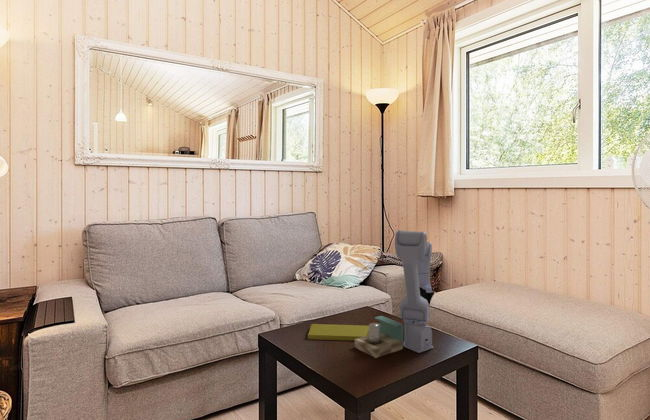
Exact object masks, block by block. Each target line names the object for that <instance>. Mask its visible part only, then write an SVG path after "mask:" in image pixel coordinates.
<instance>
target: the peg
mask: <svg viewBox="0 0 650 420" xmlns="http://www.w3.org/2000/svg"><path fill="white" fill-rule="evenodd" d="M368 326H369V343H370V344H372V345H377V344H380V322H379V323H378V322H371V323H369V324H368Z"/></svg>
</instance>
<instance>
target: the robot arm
mask: <svg viewBox="0 0 650 420" xmlns="http://www.w3.org/2000/svg"><path fill="white" fill-rule="evenodd" d="M432 245H433V244H432V243H430V241H428V235H427V233H426V231H423V230H422V231H409V230H400V229H399V230H397V231H396V232H395V235H394V247H395V250H394V251H395V254H396V258H398V259H399V260H401V264H402V269H403V276H404V284H405V292H406V293H405V294H406V295H405V296H403V297H402V299H401V300H400V302H399V303H400V306H399V316H400V318H401V320H402V322H403V323H404V330H403V348H406V349H408V350H411V351H413V352H416V353H419V354H420V353H423V352H426V351H428V350H431V349H434V346H433V330H432V328H431V326H429V325H428V324H427V323H428V322H429V320H430V314H431V307H430V305H431V301H432V298H433V296H434V295H435V292H434V291H433V290H432V289H433V288H432V285H431V283H430V282H431V261H432V254H433V252H432V251H433V246H432Z"/></svg>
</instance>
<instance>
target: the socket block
mask: <svg viewBox="0 0 650 420" xmlns="http://www.w3.org/2000/svg"><path fill="white" fill-rule="evenodd" d="M403 342H404V340H403V341H400V340H397V339H395V338H392V337H390V336H388V335H385V334H383V333H381V332H380V344H377V345H372V344H370V343H369V335H368V336H364V337H361V338H357V339H355V341H354V348H355V349H358V351H361V352H363V353H364V354H367V355H369V356H371V357H373V358H374V359H377V358H380V357H383V356H386V355H389V354H392V353H396V352H399V351H401V350H403V348H404V346H403Z"/></svg>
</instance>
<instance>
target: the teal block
mask: <svg viewBox="0 0 650 420" xmlns="http://www.w3.org/2000/svg"><path fill="white" fill-rule="evenodd" d="M374 320H375V321H378V322H379V324H380V332H381V333H383V334H385V335H388V336H390V337H392V338H395V339H397V340H400V341H403V342H404V323H402V322H399V321H397V320H393V319H391V318H389V317H387V316H383V315H378V316H375V317H374Z"/></svg>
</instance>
